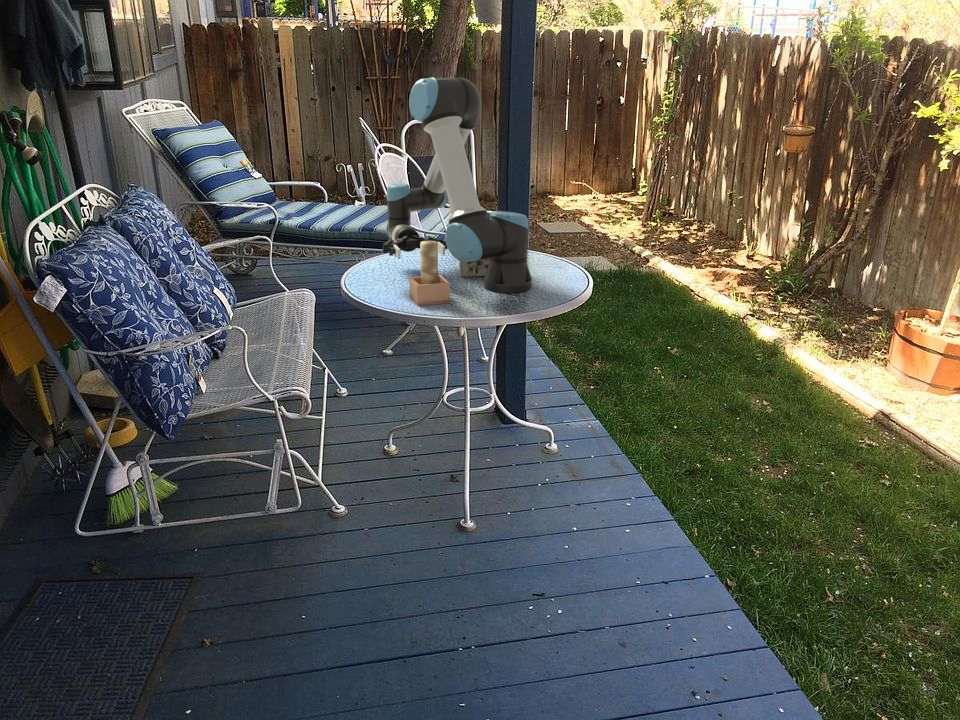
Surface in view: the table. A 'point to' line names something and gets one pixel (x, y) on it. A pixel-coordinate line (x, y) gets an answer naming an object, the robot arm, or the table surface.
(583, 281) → the table surface
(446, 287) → the box
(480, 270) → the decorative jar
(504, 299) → the table surface
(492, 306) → the table surface
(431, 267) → the peg
